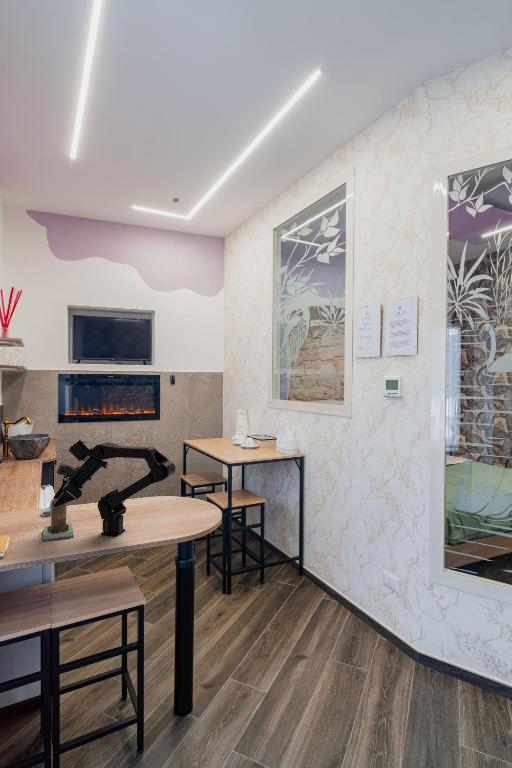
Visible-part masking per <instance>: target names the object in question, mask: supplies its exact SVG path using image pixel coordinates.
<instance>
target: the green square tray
mask: <svg viewBox="0 0 512 768" xmlns="http://www.w3.org/2000/svg"><path fill="white" fill-rule="evenodd" d="M73 528H74V527H73V524H72V522H70V523H67V522H66V531H65V532H57V533H51V524H50V525H44V526H43V530H42V542H47V541H49V540H50V541H56V540H57V539H58V540H64V538H65V539H72V538H74V529H73ZM50 541H49V542H50Z"/></svg>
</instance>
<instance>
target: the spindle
mask: <svg viewBox="0 0 512 768" xmlns="http://www.w3.org/2000/svg"><path fill="white" fill-rule="evenodd" d="M52 499H53V498H52ZM52 499H51V500H52ZM57 499H58V498H57ZM57 499H53V500H52V508H51V515H50V525H51V533H57V532H65V531H66V524H67V509H68V505H67V504H68V502H67V503H65V504H62V505H60V506H58V507H54V506H53V505H54V503H55V502H56V501H57Z"/></svg>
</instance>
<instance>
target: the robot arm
mask: <svg viewBox="0 0 512 768" xmlns="http://www.w3.org/2000/svg"><path fill="white" fill-rule="evenodd" d="M68 452H69V454H71V455H72V456H73V457H74V458H75V459H76V460H77V462H79V463H81V462H83V464H81V465H79V466H76V467H73V466H71V465H69V464H65V463H63V462H61V463H60V464H59V465H58V467H57V469H56V474H58V475H62V476H63V477H62V478H61V481H62V483H61V485H60V487H59V488H58V490H57V491H56V493H55V494H54V495H53V497H52V499H57V498H58V499H57V501H56V502H55V503H54V505H53V506H54V507H58V506H60V505H62V504H65V503H67V504H68V503H70V502H72V501H76V500H78V499H80V498H81V497H82V496H83V495H82V494H83V490H82V489H83V488H84V485H85V484H86V483H87V482H88V481H92V478H93V476H94V475H95V474H96V473H97V472H98V471H100V469H101V468H103V469H104V470H108V469H109V466H108V465H109V462H108V461H105V460H110V459H114V458H123V459H124V458H125V459H126V458H127V459H128V458H129V459H143V460H144V461H145V462H146V464H147V466H148V468H149V470H150V471H149V472H148V473H147V474H146V475H145V476H143V477H142V478H140V479H139V480H137V481H135V482H134V483H132V484H131V485H129V486H128V485H127V487H125V488H124V489H122V490H120V491H119V489H118V488H115V489H113V490H111V491H109V492H108V493H107V494H105V495H102V496H101V497H100V498H99V500H97V501H98V502H97V509H98V512H99V515H100V518H101V520H102V532H100V535H101V536H108V537H109V536H111V537H118V536H120V535H121V534H122V533H124V532H125V531H126V528H124V514H126V511H127V506H126V505H124V503H125V502H126V500H128V499H130V498H131V497H133V496H134V495H137V494H138V493H139V492H141V491H143V490H144V489H146V488H148V487H149V486H151V485H153V484H157V483H159V482H161V481H162V482H163V481H165V480H167V479H168V478H170V477H172V476H174V475H175V473H176V470H177V469H176V465H175V464H174V462H172V461H171V460H169V458H167V456H165V455H164V454H162V453H161V452H159V450H158V449H157V448H156V447H154V446H148V447H147V446H130V445H129V446H126V445H125V446H124V445H120V444H117V443H114V442H108V441H107V442H102V443H99V444H96V445H95V446H94V447H91V446H90V444H88V443H87V441H86V440H85V439H84V438H81V439H79V440H78V441H77V442H74V444H72V445H71V446H70V447H69V448H68Z"/></svg>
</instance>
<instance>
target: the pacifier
mask: <svg viewBox="0 0 512 768" xmlns="http://www.w3.org/2000/svg"><path fill="white" fill-rule="evenodd" d="M52 500H53V498H51V500H50V503H49V506H48V507H47V508H45V509H44V510H43V511H40V516H41V517H46V516H51V508H52Z"/></svg>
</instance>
